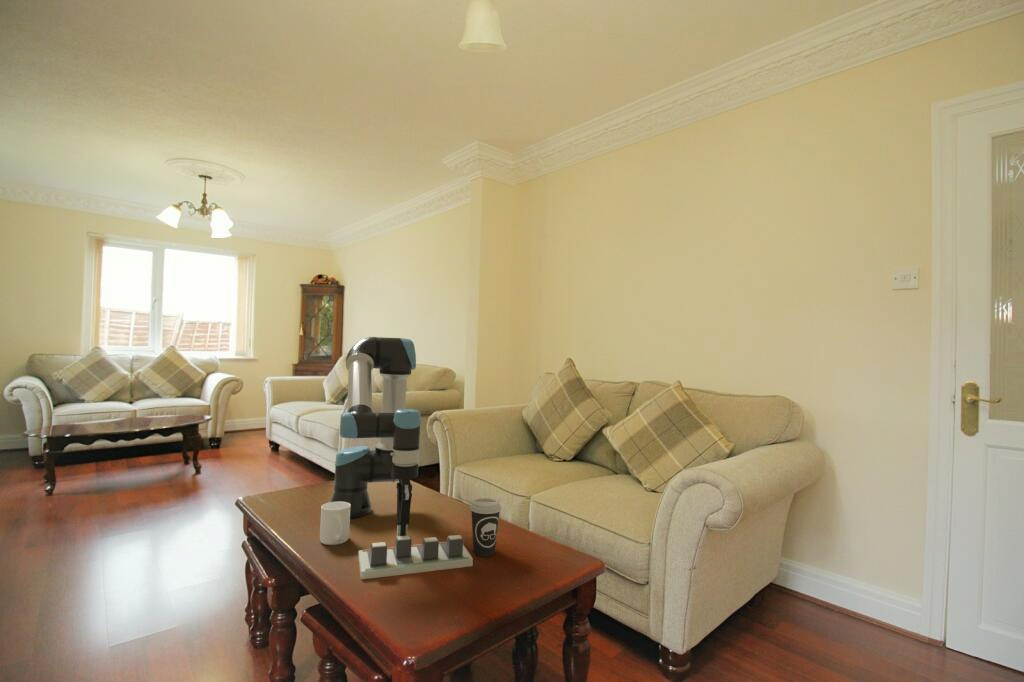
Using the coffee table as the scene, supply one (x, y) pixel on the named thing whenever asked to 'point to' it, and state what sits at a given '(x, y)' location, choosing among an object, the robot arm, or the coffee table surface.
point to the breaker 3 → (430, 548)
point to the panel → (411, 562)
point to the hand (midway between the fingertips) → (401, 546)
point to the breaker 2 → (403, 546)
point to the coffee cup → (485, 525)
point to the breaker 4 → (454, 545)
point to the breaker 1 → (378, 553)
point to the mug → (335, 523)
